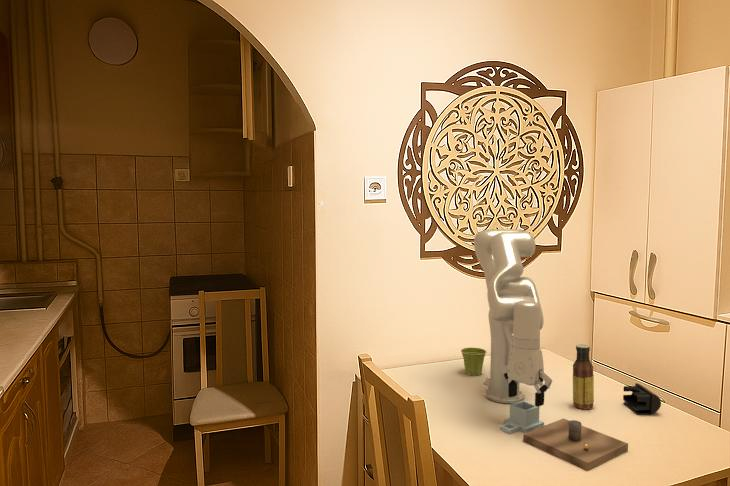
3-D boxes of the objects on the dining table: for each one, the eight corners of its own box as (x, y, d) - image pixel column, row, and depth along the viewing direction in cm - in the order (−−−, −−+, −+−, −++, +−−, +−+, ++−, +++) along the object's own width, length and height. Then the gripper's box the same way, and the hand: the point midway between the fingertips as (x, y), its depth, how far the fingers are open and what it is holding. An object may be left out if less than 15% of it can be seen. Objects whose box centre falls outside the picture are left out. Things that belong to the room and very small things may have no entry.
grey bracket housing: (522, 416, 172) (522, 398, 171) (543, 425, 165) (544, 406, 164) (493, 426, 164) (494, 408, 164) (515, 436, 158) (515, 417, 157)
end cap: (660, 415, 172) (661, 394, 171) (638, 416, 172) (639, 394, 171) (643, 403, 182) (644, 382, 181) (622, 403, 182) (623, 383, 181)
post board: (523, 440, 155) (523, 418, 155) (563, 424, 165) (563, 403, 165) (587, 470, 139) (588, 445, 138) (627, 450, 149) (628, 427, 148)
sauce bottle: (593, 403, 181) (595, 344, 179) (594, 411, 175) (596, 349, 173) (571, 401, 183) (573, 342, 181) (571, 408, 177) (573, 347, 175)
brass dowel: (582, 449, 146) (582, 444, 145) (585, 448, 146) (585, 442, 146) (586, 451, 145) (586, 445, 145) (589, 450, 145) (589, 444, 145)
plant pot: (460, 368, 217) (460, 346, 216) (485, 369, 215) (485, 347, 214) (461, 376, 207) (461, 354, 207) (487, 377, 206) (487, 354, 205)
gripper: (494, 339, 168) (494, 395, 169) (542, 351, 154) (542, 412, 155) (511, 336, 172) (511, 390, 173) (559, 347, 158) (558, 406, 159)
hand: (525, 400), depth 164 cm, fingers open, 9 cm apart
